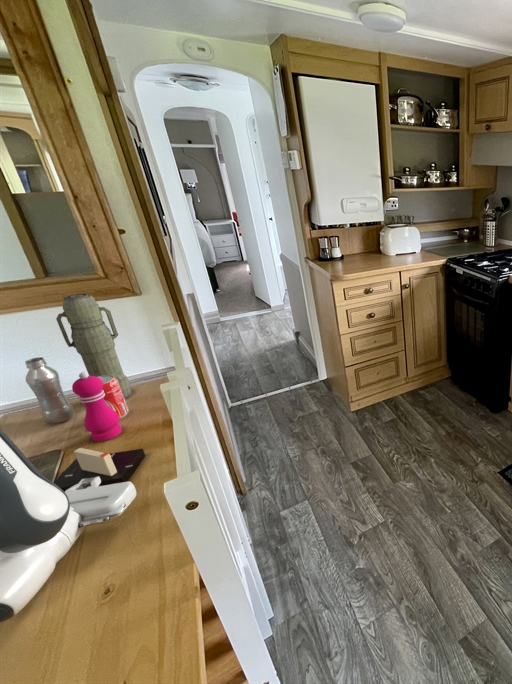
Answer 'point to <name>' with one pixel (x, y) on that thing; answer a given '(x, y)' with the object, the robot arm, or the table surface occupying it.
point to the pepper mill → (96, 408)
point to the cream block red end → (95, 461)
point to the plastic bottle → (48, 391)
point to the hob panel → (123, 464)
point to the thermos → (93, 338)
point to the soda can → (114, 395)
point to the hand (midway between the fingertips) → (92, 479)
